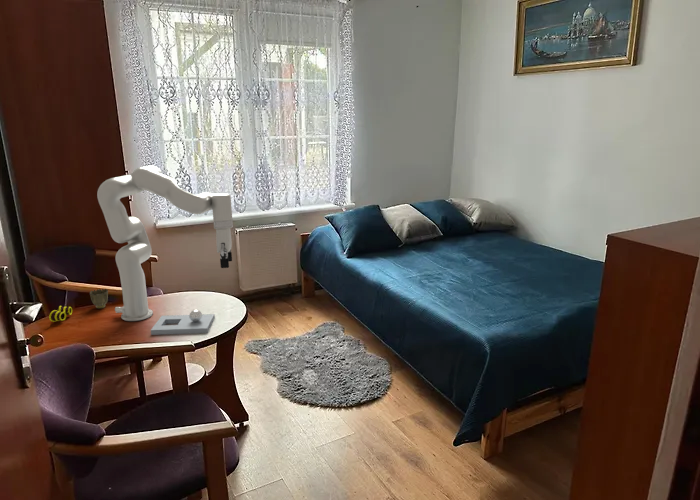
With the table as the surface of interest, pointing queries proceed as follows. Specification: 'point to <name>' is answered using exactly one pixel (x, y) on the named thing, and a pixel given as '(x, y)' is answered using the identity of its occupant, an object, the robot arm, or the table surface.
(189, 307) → the table surface
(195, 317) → the steel ball
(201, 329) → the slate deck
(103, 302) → the cup
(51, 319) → the yellow looped piece
